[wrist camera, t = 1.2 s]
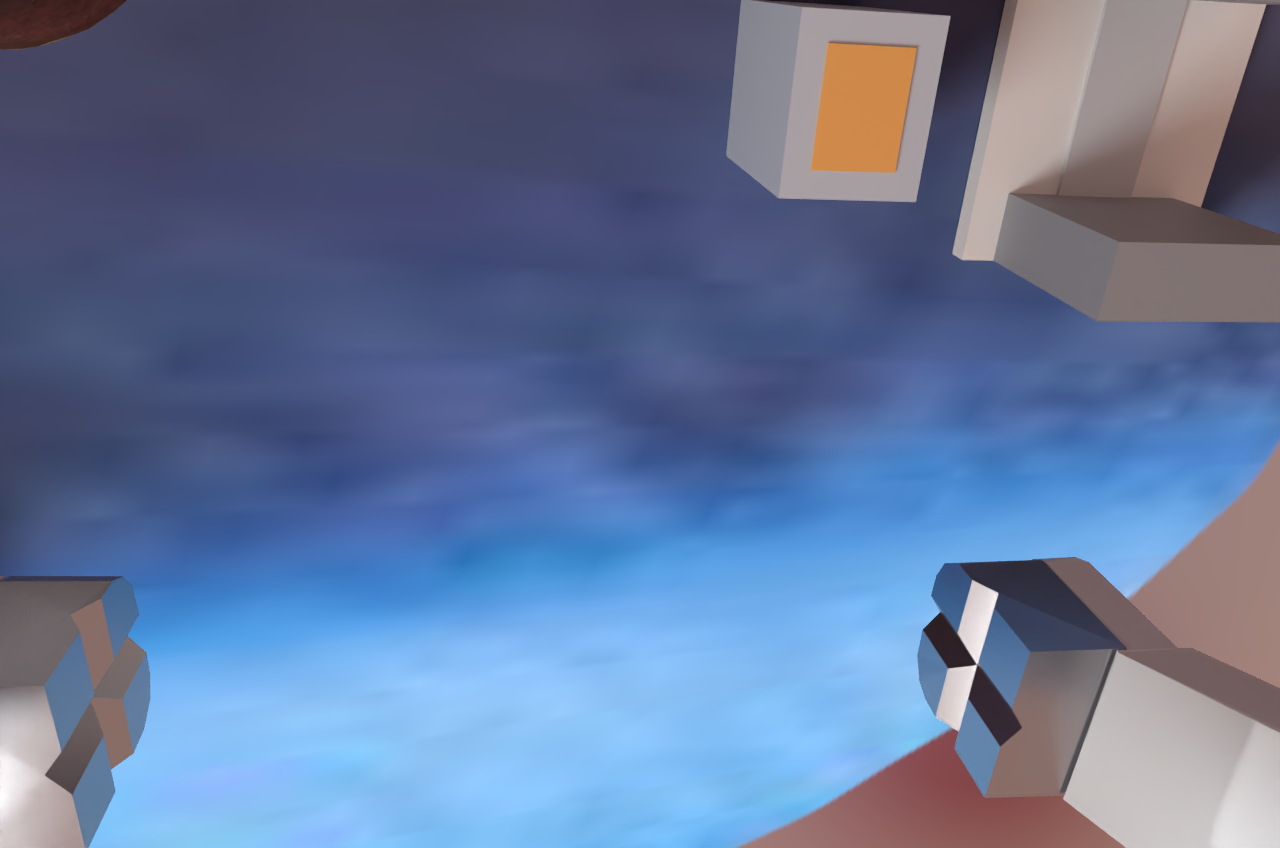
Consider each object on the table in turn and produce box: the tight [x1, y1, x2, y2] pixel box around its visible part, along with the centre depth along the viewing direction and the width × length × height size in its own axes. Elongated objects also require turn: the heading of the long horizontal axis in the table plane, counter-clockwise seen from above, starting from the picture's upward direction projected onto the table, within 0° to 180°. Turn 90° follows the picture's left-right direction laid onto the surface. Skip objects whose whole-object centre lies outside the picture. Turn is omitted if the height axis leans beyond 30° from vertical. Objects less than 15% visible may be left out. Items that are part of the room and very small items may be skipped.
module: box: [726, 0, 951, 202], centre depth 34 cm, size 6×5×8 cm
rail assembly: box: [952, 0, 1280, 322], centre depth 36 cm, size 14×11×9 cm
